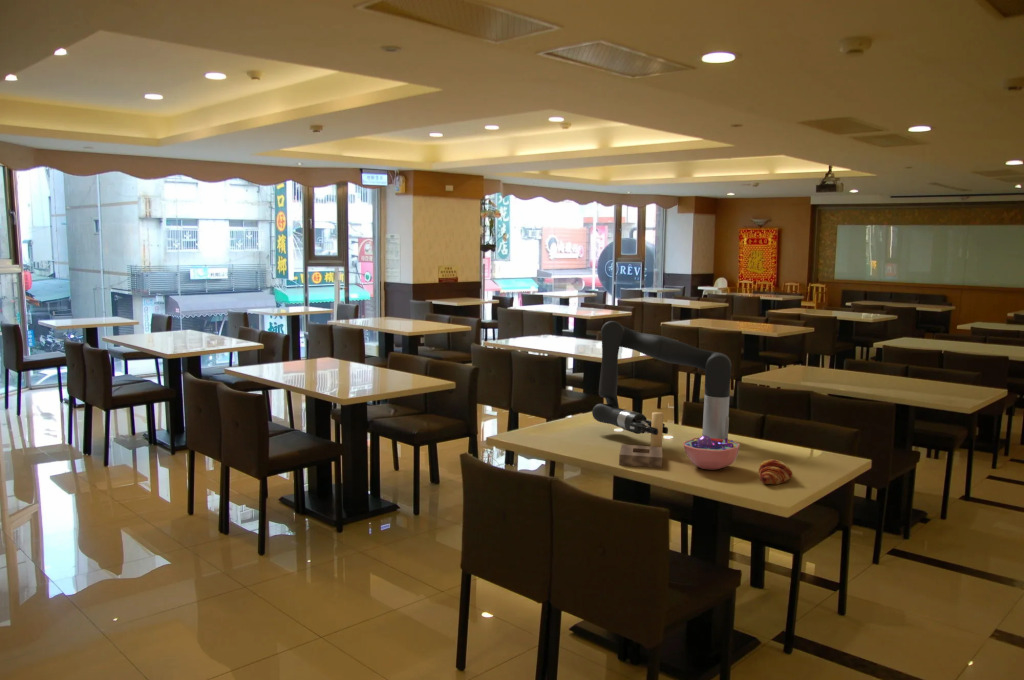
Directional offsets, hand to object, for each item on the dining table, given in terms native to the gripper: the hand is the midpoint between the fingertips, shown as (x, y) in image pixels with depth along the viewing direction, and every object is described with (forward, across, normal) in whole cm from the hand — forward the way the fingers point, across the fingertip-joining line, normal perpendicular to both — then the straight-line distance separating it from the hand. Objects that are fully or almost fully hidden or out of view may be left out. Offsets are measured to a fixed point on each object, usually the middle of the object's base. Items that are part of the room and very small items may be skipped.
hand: (662, 431), depth 269 cm
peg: (-3, 0, +8) cm, 8 cm away
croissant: (+40, +13, +8) cm, 43 cm away
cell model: (+21, +4, +8) cm, 23 cm away
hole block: (+5, -13, +8) cm, 16 cm away
